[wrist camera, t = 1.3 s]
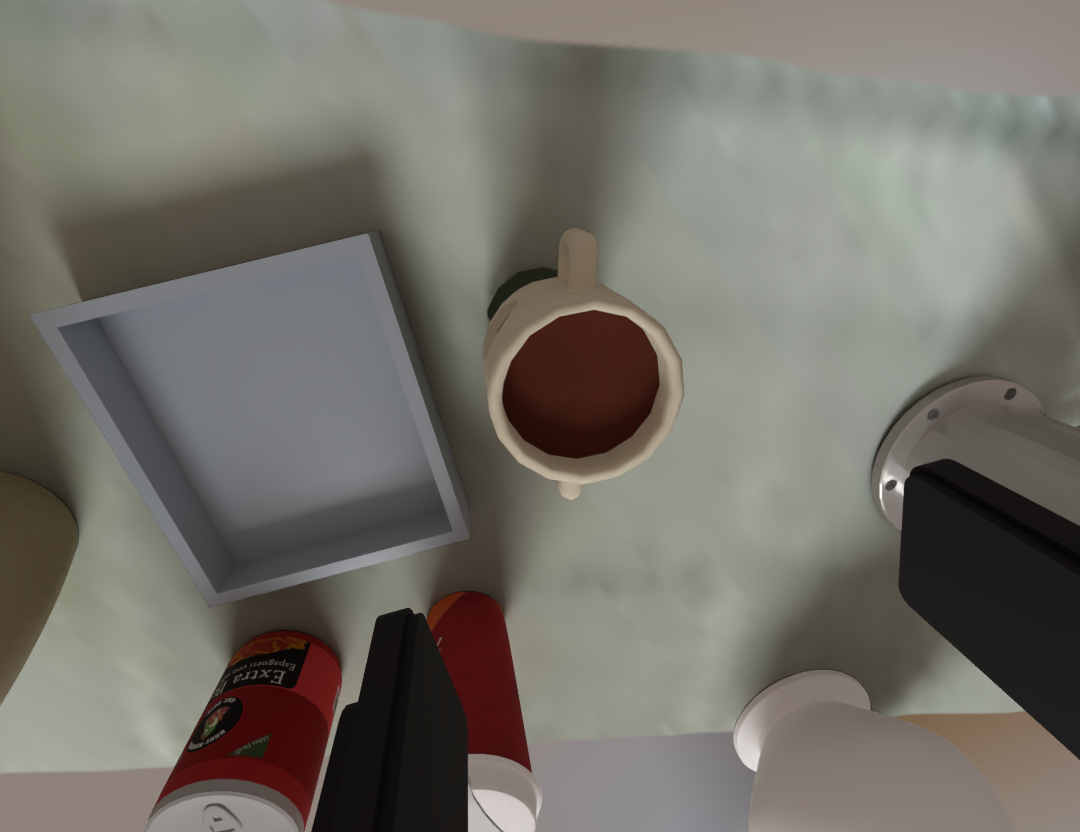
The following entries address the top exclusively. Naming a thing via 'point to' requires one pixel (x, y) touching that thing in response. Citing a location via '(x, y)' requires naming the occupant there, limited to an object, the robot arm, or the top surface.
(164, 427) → the grey bin
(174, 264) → the top surface
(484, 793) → the paper cup
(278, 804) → the canned food
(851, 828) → the decorative vase
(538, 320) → the character mug
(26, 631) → the plant pot
